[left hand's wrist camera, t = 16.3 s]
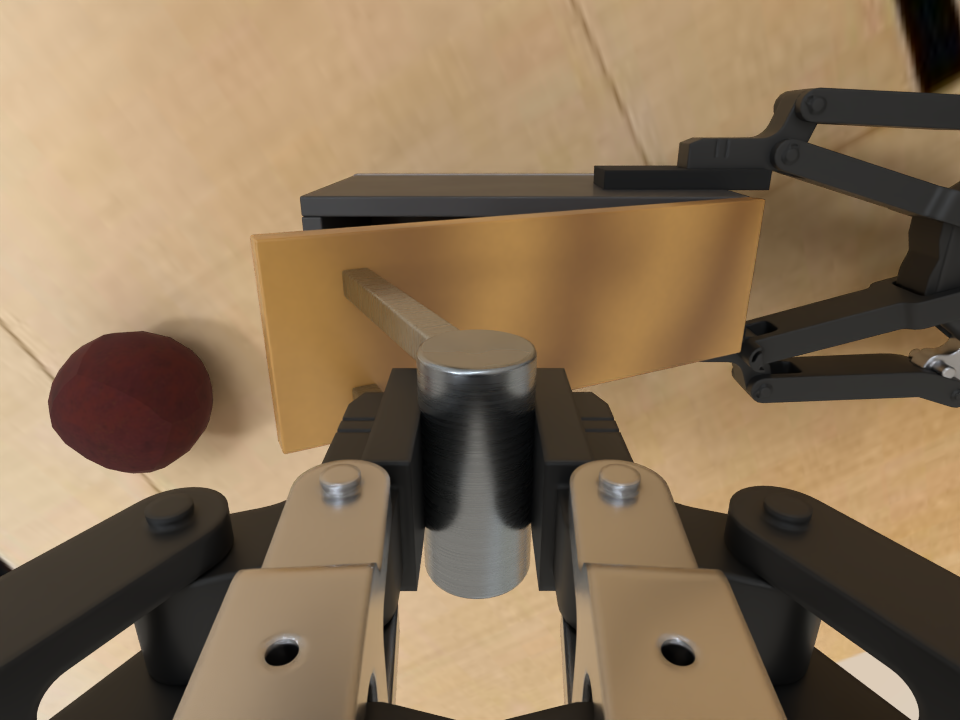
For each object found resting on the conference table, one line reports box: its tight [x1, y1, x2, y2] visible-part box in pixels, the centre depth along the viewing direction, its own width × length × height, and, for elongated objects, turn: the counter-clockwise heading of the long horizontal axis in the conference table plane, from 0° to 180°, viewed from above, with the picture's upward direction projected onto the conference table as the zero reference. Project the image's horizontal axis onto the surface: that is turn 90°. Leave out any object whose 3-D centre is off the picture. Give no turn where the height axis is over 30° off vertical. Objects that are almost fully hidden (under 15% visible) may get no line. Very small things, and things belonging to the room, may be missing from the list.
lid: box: [250, 197, 765, 599], centre depth 16 cm, size 17×6×9 cm, turn 92°
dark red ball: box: [48, 331, 213, 473], centre depth 33 cm, size 7×8×7 cm
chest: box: [300, 174, 749, 231], centre depth 28 cm, size 16×6×10 cm, turn 90°
